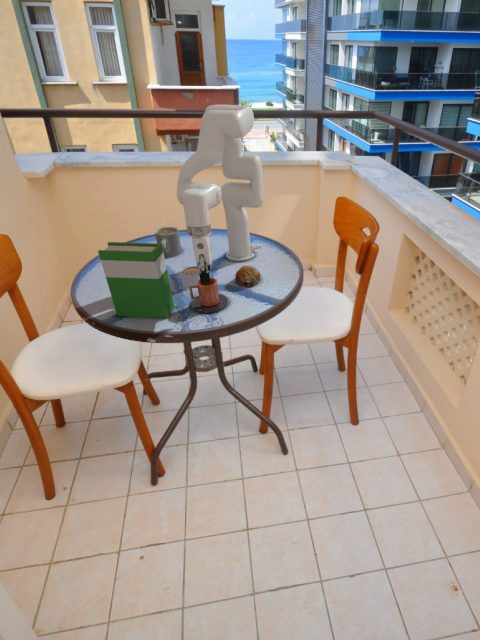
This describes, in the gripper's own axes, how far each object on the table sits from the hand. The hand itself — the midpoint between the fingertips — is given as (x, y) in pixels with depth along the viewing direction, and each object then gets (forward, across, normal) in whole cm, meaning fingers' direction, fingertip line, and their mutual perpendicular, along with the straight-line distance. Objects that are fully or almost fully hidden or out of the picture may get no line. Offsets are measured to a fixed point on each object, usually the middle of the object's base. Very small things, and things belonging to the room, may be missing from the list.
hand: (205, 276), depth 143 cm
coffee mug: (+11, +48, +18) cm, 53 cm away
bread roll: (+11, +16, -15) cm, 24 cm away
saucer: (+11, +1, 0) cm, 11 cm away
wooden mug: (+10, +1, +1) cm, 10 cm away
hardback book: (+11, -1, +22) cm, 25 cm away
